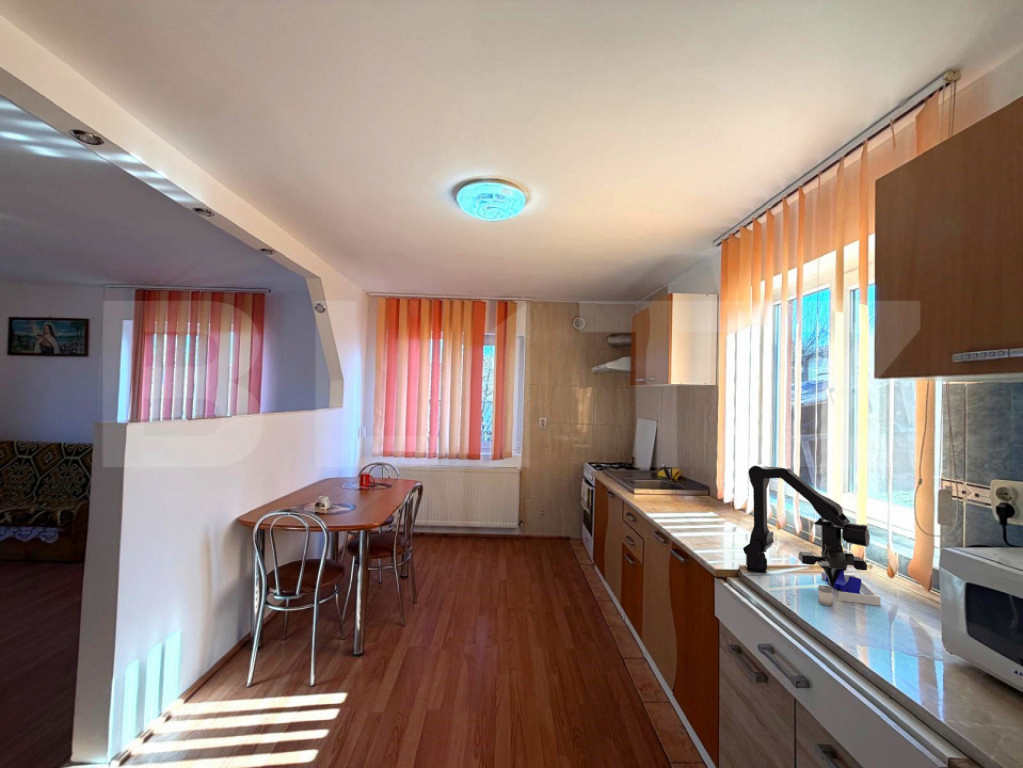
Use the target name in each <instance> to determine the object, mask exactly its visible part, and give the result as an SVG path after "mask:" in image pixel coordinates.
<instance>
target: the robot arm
mask: <svg viewBox="0 0 1023 768" xmlns="http://www.w3.org/2000/svg"><path fill="white" fill-rule="evenodd" d="M748 477H749V482H750V484H751V487H752V490H753V492H752V493H753V494H752V495H753V528H752V530H751V533H750V537H749V543H748V544H747V545H745V546H744V547H743V548H742V549H743V553H744V555H745V564H746V565H747V568H746V567H745V569H746V571H747V572H755V573H764V574H765V573H766V574H767V570H768V559H767V556H766V554H765V553H767V550H769V549H770V548H771V547H772V545H773V543H775V540H774V531H770V529H769V526H768V495H767V494H768V491H767V490H768V487H769V484H770V480H771V479H781V480H783V481H784V482H785V483H786V484H787V485H789V486H790V487H791V488H792V489H793V490H795V492H797V493H798V494H799V495H801V496H802V497H803V498H804V499H805V500H806V501H808V502H809V504H811V506H812V507H813V509H814V511H815V512H816V513H817V515H818V516H819V518H818V520H816V521H814V522H813V524H814V525H817V526H820V527H821V529H820V531H821V536H820V537H821V539H820V543H821V552H820V554H821V555H815V554H813V552H811V551H799V552H798V560H799V561H800V562H801V563H802V564H804V565H811V566H814V565H815V564H817V565H819V567H820V568H822V569H823V572H825V573H826V576H827V578H828V581H829V583H830V584H829V583H828V584H829V585H830V587H833V586H834V585H835V583H836V580H837V578H838V576H839V574H840V573H841V572H842V571H844V572H846V571H847V568H848V566H853V568H854V569H855V570H858V571H867V570H868V563H867V562H866V561H865V560H864V559H862V558H861V557H860V556H854V554H853V553H847V552H846V553H845V552H844V548H843V545H842V543H843V542H842V540H843V541H845V542H846V544H851V545H857V546H862V547H867V548H868V547H869V545H870V542H871V541H870V539H871V538H870V537H871V536H870V532H869V529H868V525H867V524H859V523H858V524H857V523H852V522H851V521H850V520H849V518H848V516H847V515H846V514H845V513H844V511H843V507H842V506H841V505H840V504H839V503H837V502H836V501H835V500H833V499H831V498H829V497H827V496H824V495H823V494H821V493H819V492H818V491H817V490H816V489H814V488H813V487H812V486H811V485H809V484H808V483H807V482H806V481H804V480H803V479H802V478H801V477H800V476H798V475H797V474H796V473H795V472H793V470H791V468H789V467H787V466H768V465H766V464H763V463H761V464H756V465H752V466H750V468H748Z"/></svg>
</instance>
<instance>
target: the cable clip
mask: <svg viewBox="0 0 1023 768" xmlns="http://www.w3.org/2000/svg"><path fill="white" fill-rule="evenodd" d="M844 574H845V571H842V572H841V573H840V574H839V576H838V578H837V580H836V583H835V585H834V586H832V588H835V589H838V590H840V591H841V592H848V593H856V594H861V589H860V588H861V581H862V580H863V579H862V578H861V577H859V578H856V577H851V576H849V579H848V582H846V581H845V577H844ZM861 579H862V580H861ZM825 582H826V583H828V584H829V585H830V583H829V581H828V578H827V576H826V580H825Z"/></svg>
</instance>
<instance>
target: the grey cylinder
mask: <svg viewBox="0 0 1023 768" xmlns="http://www.w3.org/2000/svg"><path fill="white" fill-rule="evenodd" d="M817 587H818V604H819V605H821V604H823V605H822V606H824V605H828V606H827V607H833V606H834V601H833V600H834V599H833V593H834V589H833V587H832V586H828V585H818V586H817ZM832 605H833V606H832Z"/></svg>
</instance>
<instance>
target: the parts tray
mask: <svg viewBox="0 0 1023 768" xmlns="http://www.w3.org/2000/svg"><path fill="white" fill-rule="evenodd" d="M849 576H851V577H856V578H860V576H859V575H857V574H848V573H844V577H845V581H846V583H847V582H848V579H849ZM820 578H821V580H824V581H826V573H825V571H822V570H821V571H820ZM860 579H861V580H862V581H861V588H860V591H862V592H863V593H864V594H863V593H860V594H856V593H848V592H843V591H838V601H841V602H849V603H856V604H857V603H858V604H865V605H866V604H867V605H872V606H881V596H880V595H879V594H878V593H877V592H875V591H874V590H873V589H872V588H871V587H870V586H869V585H868V584H867V583H866V582H865V581H864V580H863V579H862V578H860Z"/></svg>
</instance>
